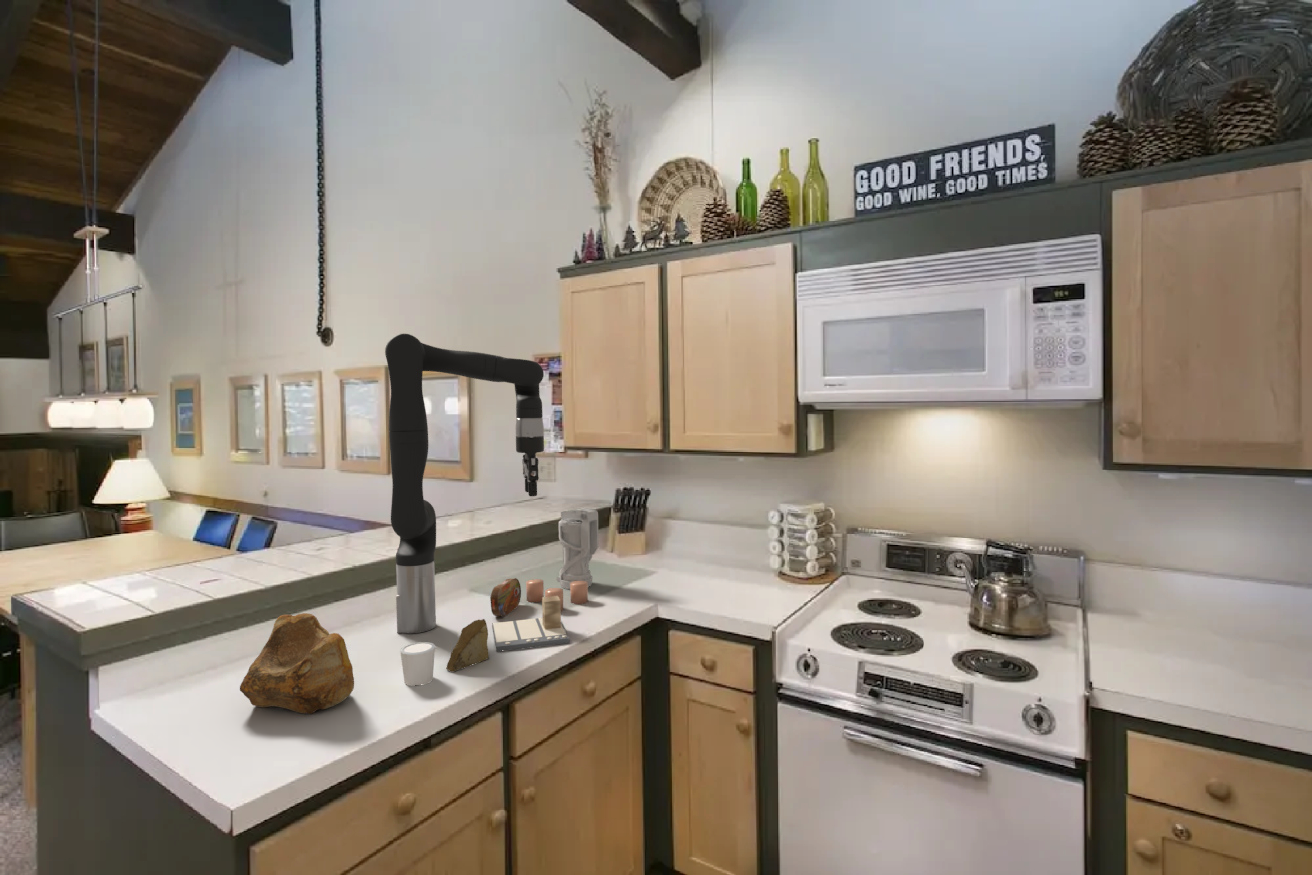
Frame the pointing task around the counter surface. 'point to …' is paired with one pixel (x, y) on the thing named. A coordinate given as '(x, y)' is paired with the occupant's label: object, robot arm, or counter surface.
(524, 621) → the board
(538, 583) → the peach rounded cylinder
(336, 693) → the brown rough lump
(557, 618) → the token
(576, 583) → the cylinder
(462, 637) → the rock
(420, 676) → the white cup
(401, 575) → the robot arm
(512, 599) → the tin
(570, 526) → the lantern
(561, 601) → the peach dome knob
